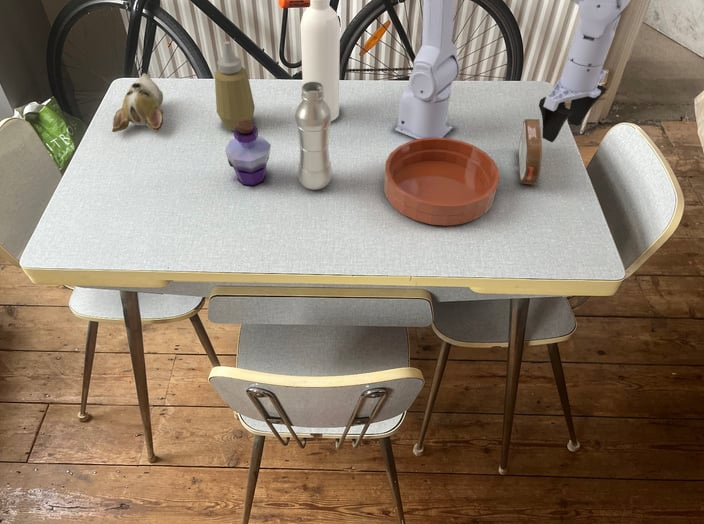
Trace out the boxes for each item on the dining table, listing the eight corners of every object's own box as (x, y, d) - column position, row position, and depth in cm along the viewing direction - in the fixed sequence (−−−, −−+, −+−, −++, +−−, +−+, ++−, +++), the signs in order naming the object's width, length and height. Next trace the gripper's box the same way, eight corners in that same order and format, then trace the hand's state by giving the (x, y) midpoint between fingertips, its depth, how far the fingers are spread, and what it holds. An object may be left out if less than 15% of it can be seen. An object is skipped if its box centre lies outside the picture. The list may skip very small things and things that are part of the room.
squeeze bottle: (264, 120, 125) (256, 39, 111) (241, 139, 120) (230, 56, 107) (234, 110, 128) (223, 29, 114) (211, 128, 123) (196, 45, 110)
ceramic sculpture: (167, 65, 123) (152, 106, 114) (176, 101, 130) (163, 142, 121) (118, 66, 124) (100, 107, 115) (129, 101, 131) (113, 142, 121)
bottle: (327, 100, 130) (326, -45, 107) (346, 116, 125) (349, -32, 103) (296, 111, 127) (289, -36, 105) (315, 128, 123) (311, -22, 100)
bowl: (362, 198, 107) (363, 176, 103) (419, 147, 117) (422, 125, 114) (459, 243, 98) (464, 222, 95) (512, 184, 109) (518, 162, 105)
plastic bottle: (336, 176, 111) (337, 80, 96) (325, 197, 107) (324, 100, 92) (305, 169, 113) (301, 74, 98) (293, 190, 109) (287, 94, 94)
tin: (534, 194, 107) (546, 156, 101) (516, 192, 107) (528, 154, 101) (530, 147, 117) (542, 110, 110) (514, 146, 117) (525, 109, 111)
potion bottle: (227, 167, 114) (218, 113, 105) (270, 161, 115) (265, 107, 106) (232, 194, 108) (223, 140, 99) (277, 188, 109) (272, 133, 100)
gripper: (582, 82, 87) (555, 157, 98) (633, 52, 93) (603, 125, 104) (543, 65, 91) (521, 139, 101) (594, 37, 97) (569, 109, 107)
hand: (560, 131), depth 103 cm, fingers open, 7 cm apart
